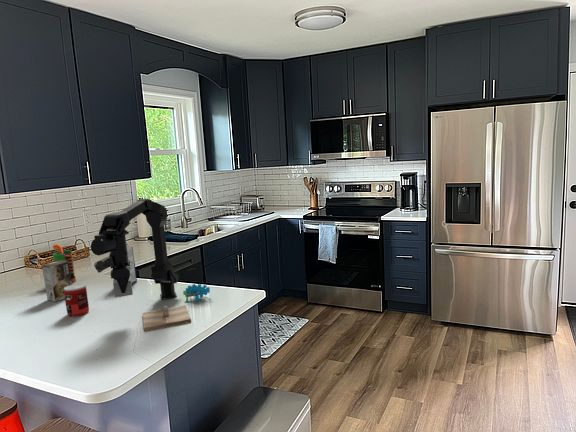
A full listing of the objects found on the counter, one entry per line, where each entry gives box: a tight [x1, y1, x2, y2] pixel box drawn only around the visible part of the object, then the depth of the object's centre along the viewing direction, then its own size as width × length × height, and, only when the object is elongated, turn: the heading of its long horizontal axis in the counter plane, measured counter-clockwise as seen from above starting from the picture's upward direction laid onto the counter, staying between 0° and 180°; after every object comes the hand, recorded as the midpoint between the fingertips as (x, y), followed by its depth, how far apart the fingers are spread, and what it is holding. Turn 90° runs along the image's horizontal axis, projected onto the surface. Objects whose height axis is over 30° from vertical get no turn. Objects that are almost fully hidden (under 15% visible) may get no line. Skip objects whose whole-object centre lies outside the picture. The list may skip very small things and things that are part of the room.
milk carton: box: [126, 243, 138, 286], centre depth 206 cm, size 7×7×20 cm
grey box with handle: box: [112, 277, 134, 299], centre depth 156 cm, size 6×6×6 cm
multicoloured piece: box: [52, 243, 77, 284], centre depth 216 cm, size 10×9×20 cm
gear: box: [182, 283, 211, 303], centre depth 176 cm, size 11×6×10 cm
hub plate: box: [142, 305, 192, 332], centre depth 157 cm, size 16×16×5 cm
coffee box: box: [41, 260, 73, 302], centre depth 191 cm, size 9×6×16 cm
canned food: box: [64, 283, 90, 317], centre depth 170 cm, size 8×8×11 cm
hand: (123, 290), depth 156 cm, fingers closed on grey box with handle, 6 cm apart
